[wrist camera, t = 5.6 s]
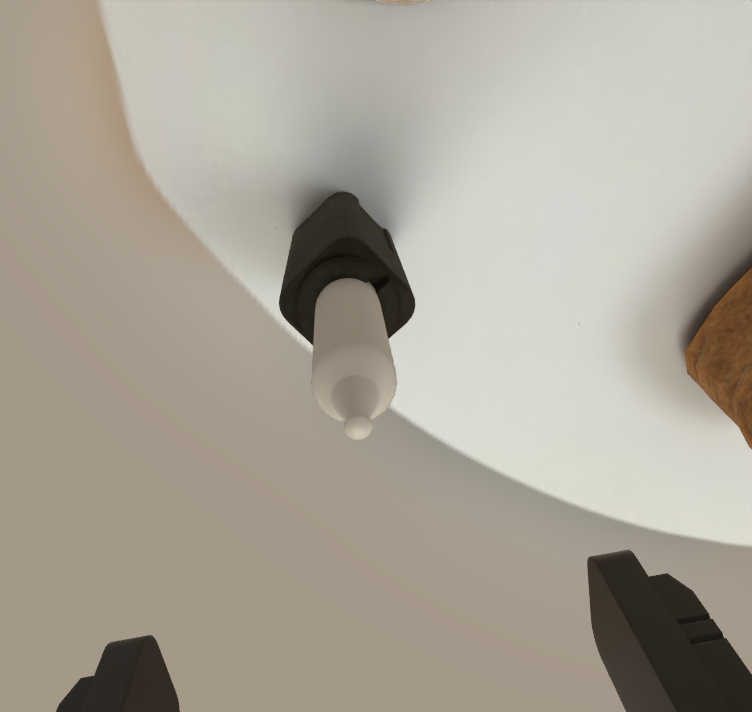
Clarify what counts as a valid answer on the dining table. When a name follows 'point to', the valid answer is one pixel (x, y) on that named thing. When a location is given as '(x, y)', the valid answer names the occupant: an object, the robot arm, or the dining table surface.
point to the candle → (347, 309)
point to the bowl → (403, 1)
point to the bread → (727, 355)
